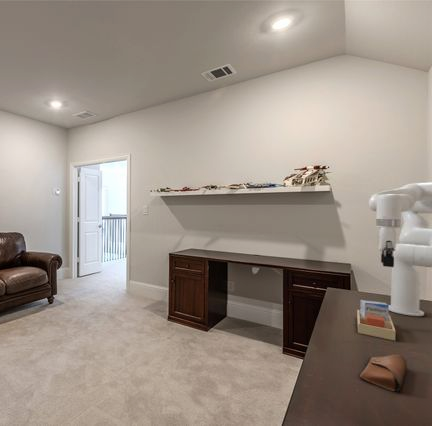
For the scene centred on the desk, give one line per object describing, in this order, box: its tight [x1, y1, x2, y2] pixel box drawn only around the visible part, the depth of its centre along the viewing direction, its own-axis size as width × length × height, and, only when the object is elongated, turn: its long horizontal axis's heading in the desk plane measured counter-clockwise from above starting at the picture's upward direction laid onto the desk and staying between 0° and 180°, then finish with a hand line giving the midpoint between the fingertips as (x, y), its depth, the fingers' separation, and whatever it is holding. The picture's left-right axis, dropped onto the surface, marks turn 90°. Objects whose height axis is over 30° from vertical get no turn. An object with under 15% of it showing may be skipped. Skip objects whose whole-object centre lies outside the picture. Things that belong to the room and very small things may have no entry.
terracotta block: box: [366, 314, 385, 328], centre depth 115 cm, size 5×5×5 cm
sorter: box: [356, 309, 396, 342], centre depth 119 cm, size 20×10×4 cm, turn 141°
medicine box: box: [359, 299, 390, 322], centre depth 122 cm, size 8×4×9 cm, turn 67°
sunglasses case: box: [359, 354, 408, 392], centre depth 85 cm, size 18×7×7 cm
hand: (387, 264), depth 124 cm, fingers open, 9 cm apart
